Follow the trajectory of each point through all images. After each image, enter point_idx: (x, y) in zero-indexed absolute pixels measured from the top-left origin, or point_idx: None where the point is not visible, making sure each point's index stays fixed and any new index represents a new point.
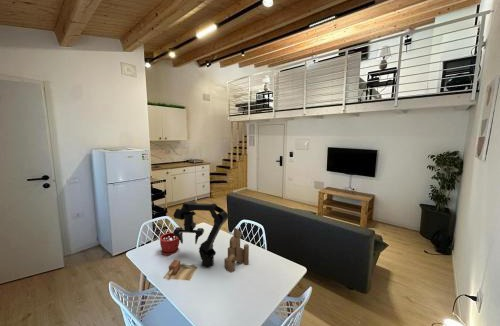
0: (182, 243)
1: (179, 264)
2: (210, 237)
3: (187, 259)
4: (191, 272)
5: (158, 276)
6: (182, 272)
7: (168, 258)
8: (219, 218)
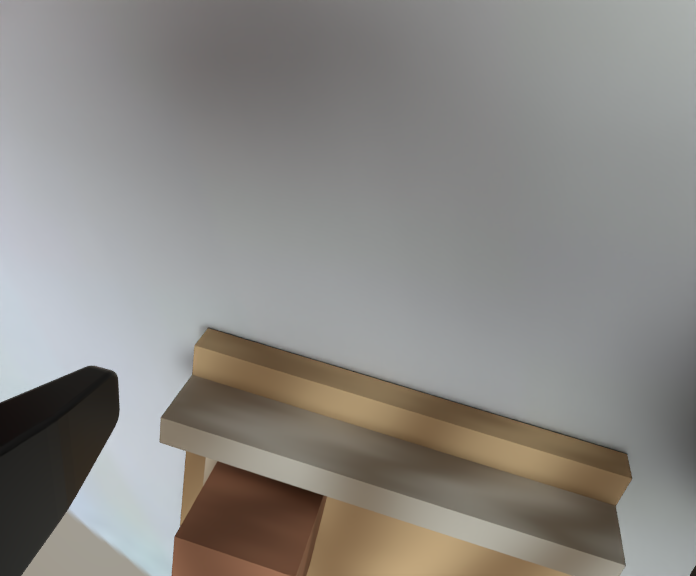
0: (118, 405)
1: (307, 546)
2: None
3: (408, 125)
4: (522, 573)
5: (107, 479)
6: (388, 540)
7: (10, 35)
8: None
